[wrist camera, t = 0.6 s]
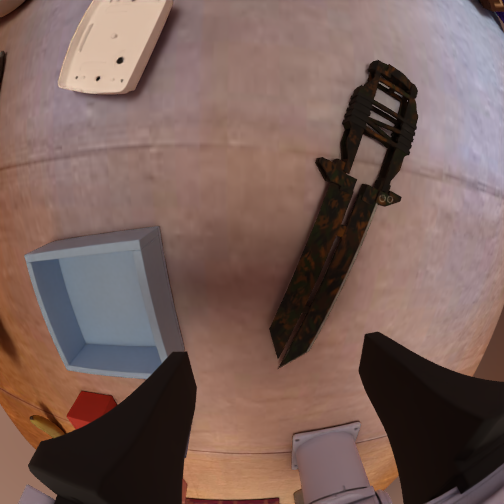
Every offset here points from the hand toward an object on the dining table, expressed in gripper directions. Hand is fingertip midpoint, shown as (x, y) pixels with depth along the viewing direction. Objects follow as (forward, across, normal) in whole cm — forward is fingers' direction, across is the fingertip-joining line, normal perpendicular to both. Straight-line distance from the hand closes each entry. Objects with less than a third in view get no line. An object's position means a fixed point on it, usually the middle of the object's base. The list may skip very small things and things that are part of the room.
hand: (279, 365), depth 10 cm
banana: (+10, +32, +22) cm, 40 cm away
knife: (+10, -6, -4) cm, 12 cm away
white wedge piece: (+6, +9, -18) cm, 21 cm away
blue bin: (+10, +12, +1) cm, 15 cm away
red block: (+10, +19, +15) cm, 26 cm away
